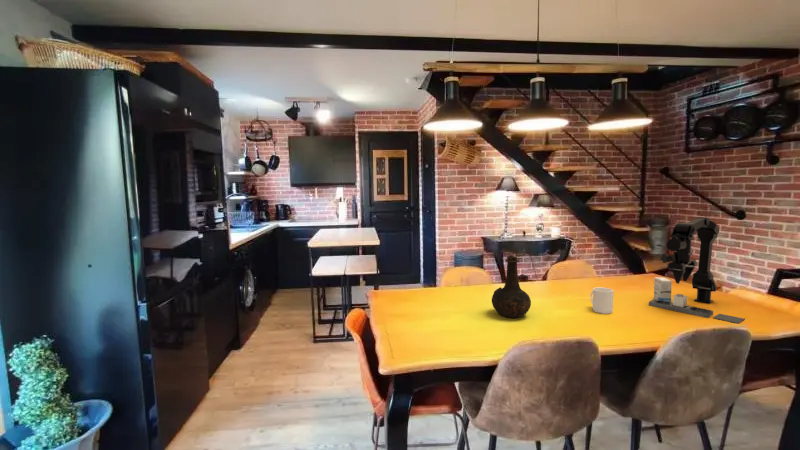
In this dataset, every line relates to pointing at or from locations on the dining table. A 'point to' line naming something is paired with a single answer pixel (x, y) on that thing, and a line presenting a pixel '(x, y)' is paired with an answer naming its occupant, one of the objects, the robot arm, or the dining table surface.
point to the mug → (602, 300)
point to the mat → (728, 318)
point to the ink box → (662, 289)
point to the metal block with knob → (680, 300)
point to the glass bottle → (511, 294)
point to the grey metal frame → (687, 310)
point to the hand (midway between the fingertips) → (681, 282)
